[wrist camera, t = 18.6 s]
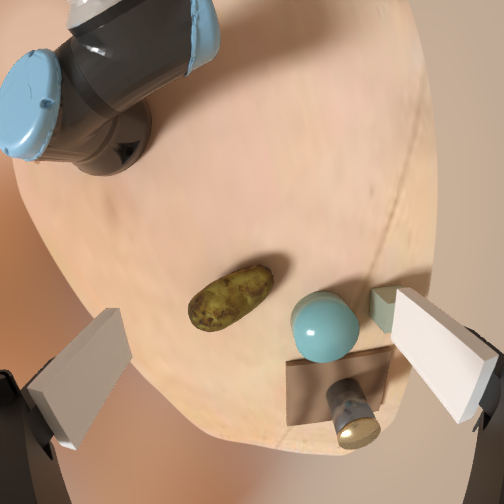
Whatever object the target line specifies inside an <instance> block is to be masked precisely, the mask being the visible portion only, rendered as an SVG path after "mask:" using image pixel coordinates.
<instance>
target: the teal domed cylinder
mask: <svg viewBox="0 0 504 504" xmlns="http://www.w3.org/2000/svg"><path fill="white" fill-rule="evenodd" d="M291 327H292V331H293V335H294V338H295V342H296V346H297V348H298V350H299V352H300V353H301V354H302V356H304V357H305V358H306V359H308V360H310V361H313V362H317V363H327V362H332V361H335V360H337V359H340V358H341V357H343V356H344V355H346V354H347V353H348V352H349V351H350V350H351V349H352V348H353V347H354V345H355V343H356V341H357V339H358V336H359V322H358V320H357V317H356V316H355V314H354V313H353V312H352V311H351V309H350V308H349V307H348V305H347V304H346V303H345V302H344V300H343V299H342V298H341V297H340V296H338V295H337V294H335V293H332V292H328V291H319V292H314V293H311V294H309V295H307V296H305V297H304V298H303V299H301V300H300V301H299V302H298V303H297V305H296V306H295V308H294V310H293V312H292V315H291Z"/></svg>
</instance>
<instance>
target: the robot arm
mask: <svg viewBox="0 0 504 504" xmlns="http://www.w3.org/2000/svg"><path fill="white" fill-rule="evenodd" d="M66 1H67V2H68V3H69V4H70V10H69V14H68V18H67V22H66V27H67V29H68V30H69V31H70V32H71V33H72V35H73V36H72V37H71V38H70V39H68V40H67V41H66V42H65V43H63V44H62V45H61V46H60V47H58V49H56V50H55V51H54V52H53V51H51V50H49V49H38V50H36V51H35V50H32V51H30V52H28V53H26V54H25V55H24V56H22V57H21V58H20V59H19V60H18V61H17V62H16V63H15V64H14V66H13V67H12V68H11V69H10V71H9V72H8V74H7V76H6V77H5V79H4V81H3V83H2V85H1V88H0V149H1V150H2V151H3V152H4V153H5V154H6V155H8V156H10V157H13V158H19V159H23V160H25V161H33V160H34V161H58V162H72V163H73V164H74V165H75V166H77V167H78V168H79V169H80V170H81V171H83V172H85V173H87V174H90V175H94V176H111V175H115V174H118V173H120V172H122V171H124V170H126V169H127V168H129V167H130V166H131V165H132V164H133V163H134V162H135V161H136V160H137V159H138V158H139V157H140V155H141V154H142V152H143V151H144V149H145V147H146V145H147V142H148V140H149V136H150V132H151V114H150V110H149V108H148V105H147V103H146V102H145V100H144V98H145V97H147V96H149V95H150V94H152V93H154V92H155V91H157V90H159V89H160V88H162V87H164V86H166V85H167V84H169V83H171V82H173V81H175V80H176V79H178V78H180V77H182V76H183V77H186V76H188V75H189V74H190V73H191V72H192V71H193V70H195V69H197V68H199V67H201V66H202V65H204V64H206V63H208V62H210V61H211V60H213V59H214V58H215V57H216V55H217V53H218V52H219V49H220V44H221V35H220V28H219V22H218V18H217V15H216V11H215V8H214V5H213V2H212V0H66ZM391 340H392V342H393V343H394V344H395V345H396V346H397V348H398V349H399V350H400V351H401V352H402V354H403V355H404V356H405V357H406V358H407V360H408V361H409V362H410V363H411V365H412V366H413V367H414V368H415V369H416V371H417V372H418V373H419V374H420V376H421V377H422V378H423V379H424V381H425V382H426V383H427V385H428V386H429V387H430V388H431V390H432V391H433V392H434V393H435V395H436V396H437V397H438V398H439V400H440V401H441V402H442V404H443V405H444V406H445V408H446V409H447V410H448V412H449V413H450V414H451V416H452V417H453V418H454V420H455V421H456V422H457V424H459V423H461V422H463V421H465V420H468V419H470V418H472V417H473V415H474V413H475V411H476V409H477V407H478V405H480V406H481V407H482V409H483V411H482V413H481V415H480V417H479V419H478V421H477V423H476V425H475V426H474V428H473V432H475V430H476V429H477V427H478V426H479V429H478V437H477V443H476V449H475V455H474V460H473V465H472V470H471V474H470V478H469V483H468V486H467V490H466V494H465V497H464V500H463V504H504V354H503V353H502V352H500V351H499V350H498V349H497V348H495V347H494V346H493V345H492V344H490V343H489V342H486V340H485V339H484V338H483V337H480V335H479V334H478V333H476V332H475V331H474V330H472V329H470V328H467V327H465V326H462V325H461V324H460V323H458V322H457V321H456V320H454V319H453V318H452V317H450V316H449V315H448V314H446V313H445V312H444V311H442V310H441V309H439V308H438V307H437V306H435V305H434V304H433V303H431V302H430V301H429V300H427V299H426V298H425V297H423V296H422V295H420V294H419V293H418V292H416V291H415V290H413V289H412V288H411V287H407V288H400V289H397V293H396V302H395V311H394V319H393V326H392V333H391ZM131 358H132V354H131V351H130V347H129V344H128V340H127V336H126V333H125V329H124V325H123V321H122V317H121V313H120V309H119V308H106V309H105V310H103V311H102V312H101V313H100V314H99V315H98V316H97V317H96V318H95V319H94V320H93V321H92V322H91V323H90V324H89V325H88V326H87V327H86V328H85V329H84V330H82V331H81V332H80V333H79V335H77V336H76V337H75V338H74V339H73V340H72V341H71V342H70V343H69V344H68V345H67V346H66V347H65V348H64V349H63V350H62V351H61V352H60V353H59V354H58V355H57V356H56V357H54V358H52V359H50V360H49V361H48V362H47V363H46V364H45V365H44V366H43V368H42V369H40V370H39V371H38V374H35V376H34V377H33V378H32V379H31V380H30V381H29V382H28V383H27V384H26V385H25V386H24V387H23V388H22V389H21V390H20V389H19V387H18V385H17V383H16V381H15V379H14V377H13V375H12V373H11V372H10V371H9V370H0V504H72V503H71V500H70V498H69V495H68V492H67V489H66V486H65V483H64V480H63V477H62V474H61V471H60V467H59V464H58V460H57V456H56V452H55V448H54V446H53V444H52V442H51V441H50V440H51V438H52V437H53V435H54V436H55V437H56V439H57V440H58V441H59V443H60V444H61V446H64V447H68V448H71V449H74V450H77V449H78V447H79V446H80V444H81V442H82V440H83V439H84V437H85V435H86V433H87V432H88V430H89V428H90V426H91V425H92V423H93V421H94V419H95V418H96V416H97V414H98V412H99V411H100V409H101V407H102V406H103V404H104V402H105V401H106V399H107V397H108V395H109V394H110V392H111V391H112V389H113V387H114V386H115V384H116V382H117V381H118V379H119V378H120V376H121V374H122V373H123V371H124V370H125V368H126V366H127V365H128V363H129V362H130V360H131Z"/></svg>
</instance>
